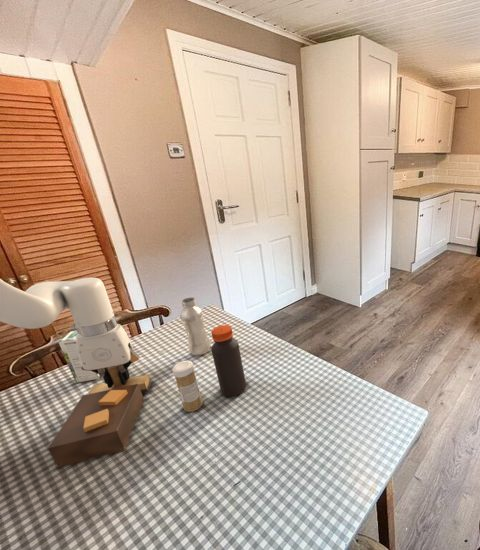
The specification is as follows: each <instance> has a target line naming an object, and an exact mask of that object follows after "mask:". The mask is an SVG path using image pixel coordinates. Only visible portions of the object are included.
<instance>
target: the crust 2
mask: <svg viewBox="0 0 480 550" xmlns="http://www.w3.org/2000/svg"><path fill="white" fill-rule="evenodd" d="M127 394H128V393H127V390H110V391H109V392H108V393H107V394H106V395H105V396H104V397H103V398H102V399H101V400H100V401H99V405H117V404H118V403H119V402H120V401H121V400H122V399H123V398H124V397H125V396H126V395H127Z"/></svg>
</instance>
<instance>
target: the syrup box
mask: <svg viewBox="0 0 480 550" xmlns="http://www.w3.org/2000/svg"><path fill="white" fill-rule="evenodd" d="M77 334H78V332H77V330H72V331H70V332H69V333H67V334H66V335H65V336H64V337H63V338H62V339H61V340H59V342H58V345H59V347H60V349H61V352H62V355H63V357H64V359H65V361H66V364H67V366H68V368H69V370H70V373H71V376H72V378H73V380H74V382H75V384H77V383H83V382H88V381H94V380H99V379H100V377H101V376H99V374H97V373H95V372H92V371H85V370H82V369H81V368H82V364H81V362H80V358H79V355H78V351H77V345H76V335H77Z"/></svg>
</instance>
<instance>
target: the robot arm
mask: <svg viewBox="0 0 480 550" xmlns="http://www.w3.org/2000/svg"><path fill="white" fill-rule="evenodd" d="M66 309H68V310H69V312H70V314H71V317H72V320H73V322H74V324H70V326H69V329H70V330H71V331H77V332H78V334H77V335H76V345H77V351H78V355H79V358H80V362H81V364H82V368H81V369H82V370H85V371H92V372H95V373H97V374H99V376H100V377H102V379H103V381H104V383H105V384H107V385H108V388H111V387H112V386H113V382H112V379H111V377H110V374H109V372H108V369H107V368H108V367H111V366H118V368H119V371H120V372H119V373H118V375H119V378H120V381H121V383H122V385H125V384H126V383H127V381H128V379H129V378H131V375H130V372H129V370H128V369H129V367H130V366H131V365H132V364H134V363H136V362H137V361H138V360H139V359H140V357H141V356H140V355H139V354H138V352H136V351H135V350H134V347H133V344H132V342H131V340H130V337H129V336H128V333H127V331H126V330H125V329H124V328H123V326H122V324H121V323H118V322H117V319H116V316H115V312H114V309H113V307H112V304H111V301H110V298H109V294H108V293H107V289H106V287H105V284H104V282H103V280H102V279H100V278H98V277H82V278H78V279H74V280H64V281H63V280H61V281H58V280H57V281H56V280H55V281H42V282H38V283H35V284H33V285H31V286H29V287H28V288H27V289H26V290H25V291H24V290H22V289H20V288H17V287H15V286H13V285H12V284H9V283H8V282H6V281H4V280H3V279H2V278H0V322H1V323H4V324H7V325H10V326H13V327H15V328H21V329H27V330H28V329H30V330H33V329H41V328H45V327H48V326H49V325H51V324H52V323H54V322H55V321H56V320H57V318H58V317H59V316H60V314H61V312H63V311H65V310H66Z"/></svg>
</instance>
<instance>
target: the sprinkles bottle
mask: <svg viewBox="0 0 480 550" xmlns="http://www.w3.org/2000/svg"><path fill="white" fill-rule="evenodd" d="M171 370H172V375H173V376H174V378H175V382H176V384H177V388H178V392H179V396H180V399H181V402H182V405H183V410H184V411H185V412H187V413H190V412H195V411H198V410H199V409H200V408H201V407H202V406H203V402H204V401H203V399H202V396H201V391H200V387H199V384H198V380H197V376H196V374H195V367H194V364H193V362H192V361H191V360H183V361H179V362H177V363H176V364H174V366H172V369H171Z"/></svg>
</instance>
